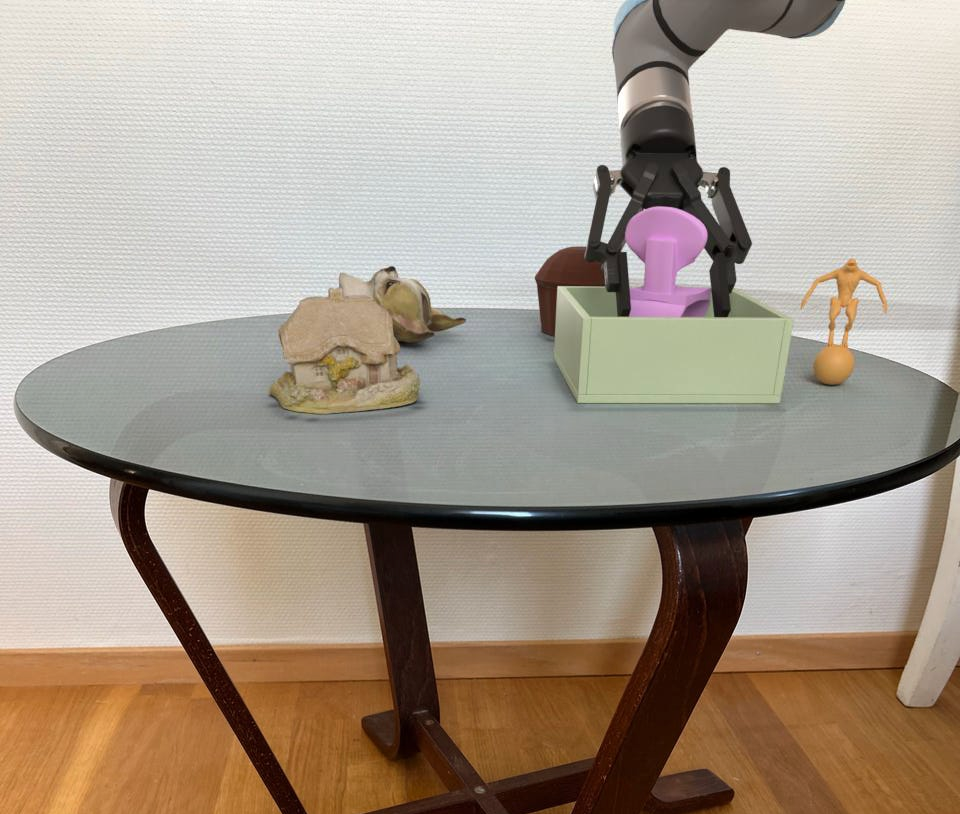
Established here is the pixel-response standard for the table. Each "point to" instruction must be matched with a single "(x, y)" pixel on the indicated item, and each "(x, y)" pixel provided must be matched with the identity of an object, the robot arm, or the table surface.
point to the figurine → (838, 359)
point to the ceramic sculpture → (401, 304)
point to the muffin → (564, 280)
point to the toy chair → (666, 262)
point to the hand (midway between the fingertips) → (673, 317)
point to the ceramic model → (342, 357)
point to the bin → (670, 351)
